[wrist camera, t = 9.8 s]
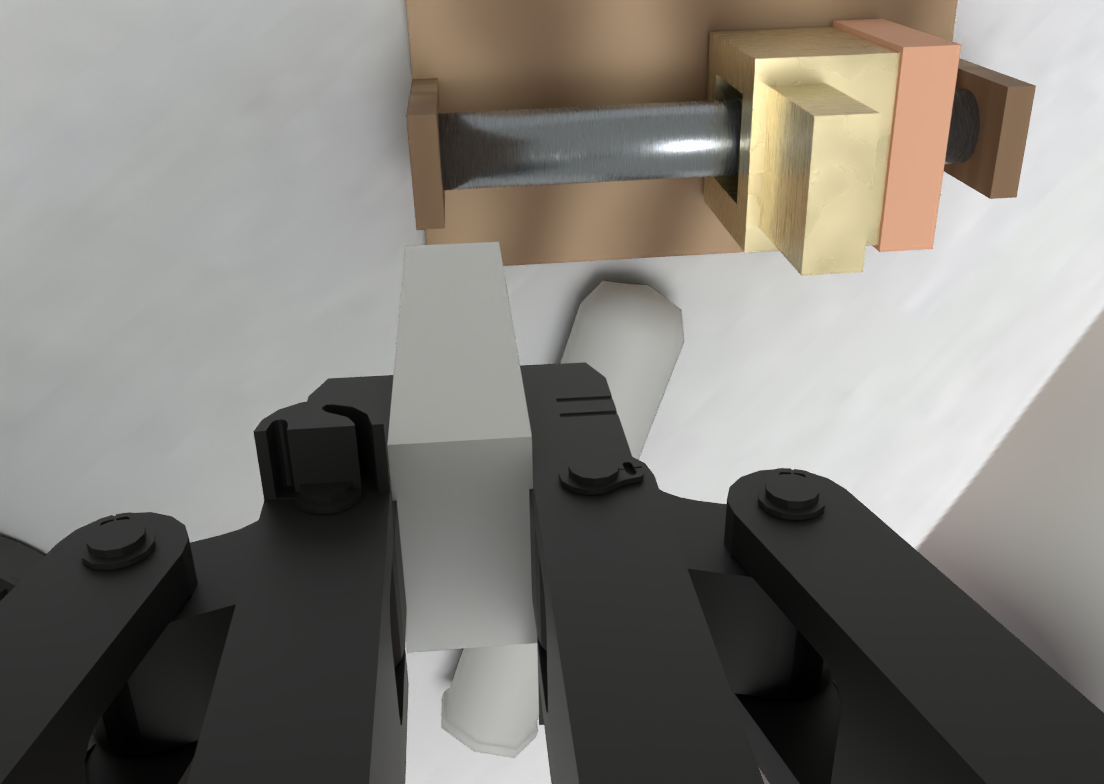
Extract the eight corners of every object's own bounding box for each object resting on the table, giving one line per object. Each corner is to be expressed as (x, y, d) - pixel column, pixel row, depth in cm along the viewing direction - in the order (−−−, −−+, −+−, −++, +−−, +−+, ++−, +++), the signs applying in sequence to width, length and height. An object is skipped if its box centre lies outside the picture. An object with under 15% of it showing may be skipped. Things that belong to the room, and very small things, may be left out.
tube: (575, 279, 43) (424, 731, 53) (698, 324, 42) (523, 773, 52) (598, 251, 48) (456, 670, 58) (708, 292, 47) (546, 707, 57)
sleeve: (703, 200, 44) (783, 302, 34) (710, 32, 41) (800, 86, 31) (819, 194, 44) (935, 293, 34) (834, 26, 41) (966, 78, 31)
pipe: (431, 181, 41) (430, 203, 38) (425, 103, 39) (423, 120, 37) (952, 155, 42) (986, 173, 40) (963, 78, 41) (999, 93, 38)
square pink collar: (817, 197, 45) (879, 251, 38) (833, 20, 42) (903, 47, 35) (863, 195, 45) (932, 248, 38) (881, 18, 42) (961, 44, 35)
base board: (429, 262, 46) (425, 333, 39) (404, -32, 41) (395, -12, 33) (915, 234, 47) (998, 298, 40) (953, -52, 42) (1057, -37, 35)
